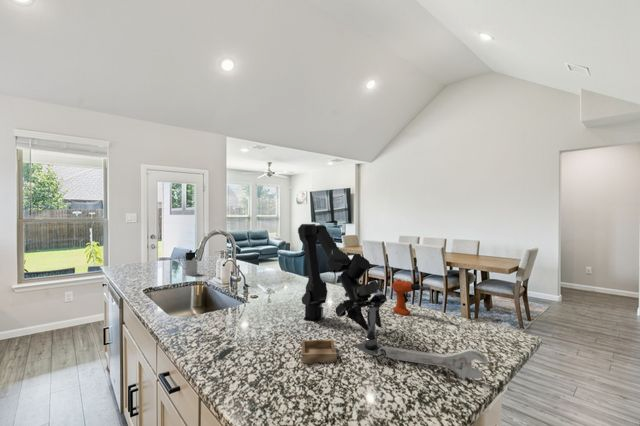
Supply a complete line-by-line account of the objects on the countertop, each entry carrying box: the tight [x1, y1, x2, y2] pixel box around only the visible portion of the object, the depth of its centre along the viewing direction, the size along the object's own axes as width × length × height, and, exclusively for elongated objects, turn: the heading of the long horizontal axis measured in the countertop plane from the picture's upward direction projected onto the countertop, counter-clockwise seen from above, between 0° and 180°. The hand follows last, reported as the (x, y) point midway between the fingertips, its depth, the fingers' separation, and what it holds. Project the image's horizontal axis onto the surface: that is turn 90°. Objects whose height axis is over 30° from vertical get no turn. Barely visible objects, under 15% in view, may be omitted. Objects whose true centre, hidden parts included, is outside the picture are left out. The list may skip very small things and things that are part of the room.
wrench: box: [377, 345, 489, 381], centre depth 87 cm, size 8×2×30 cm
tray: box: [301, 339, 338, 364], centre depth 95 cm, size 10×10×3 cm
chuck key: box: [364, 306, 378, 350], centre depth 100 cm, size 4×4×13 cm
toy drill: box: [391, 279, 431, 317], centre depth 133 cm, size 5×19×15 cm, turn 42°
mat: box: [353, 342, 386, 356], centre depth 100 cm, size 8×8×1 cm
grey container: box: [178, 251, 199, 277], centre depth 217 cm, size 9×14×15 cm, turn 80°
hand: (374, 328), depth 99 cm, fingers open, 5 cm apart
